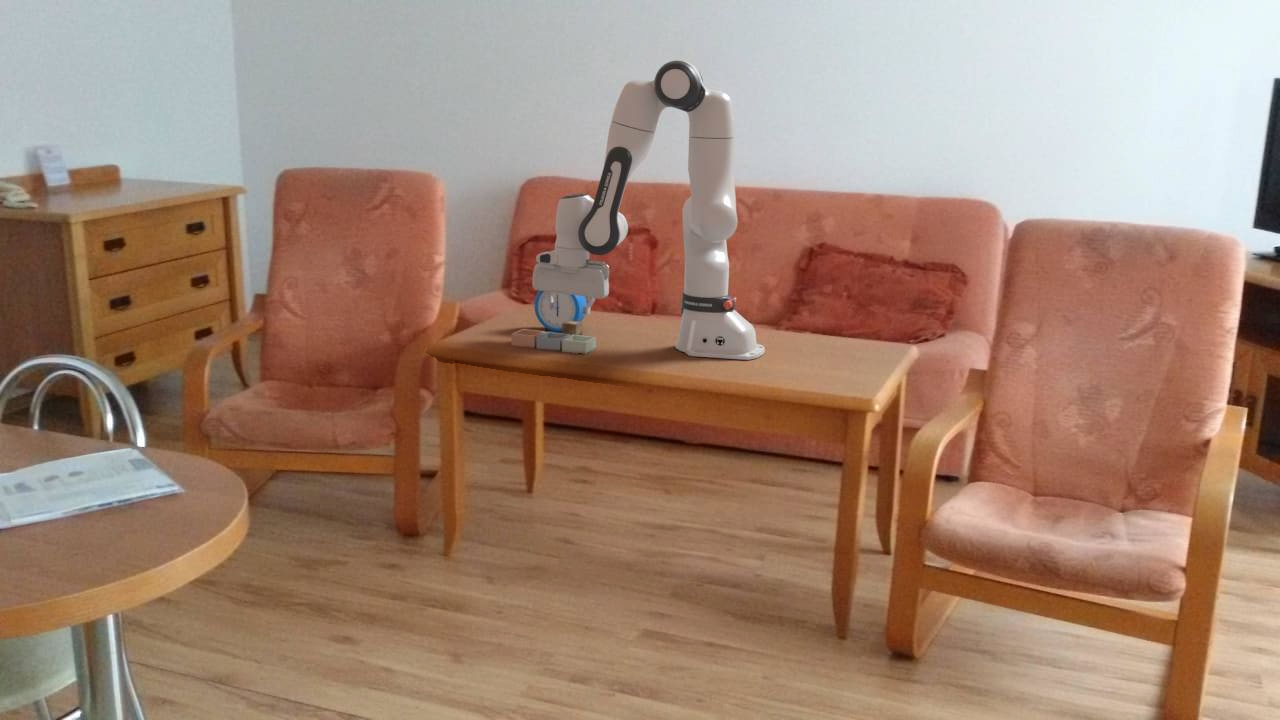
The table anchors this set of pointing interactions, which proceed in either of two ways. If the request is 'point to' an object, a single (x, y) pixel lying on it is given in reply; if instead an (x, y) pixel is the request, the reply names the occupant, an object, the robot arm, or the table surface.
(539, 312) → the alarm clock
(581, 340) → the pale green square tray
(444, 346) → the table surface
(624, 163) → the robot arm
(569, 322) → the brown block
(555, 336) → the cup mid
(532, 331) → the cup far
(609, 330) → the table surface
